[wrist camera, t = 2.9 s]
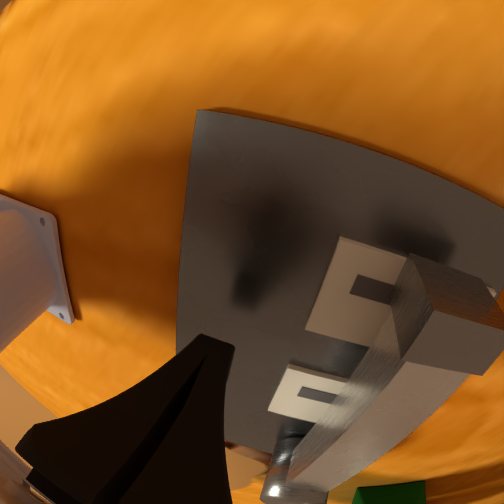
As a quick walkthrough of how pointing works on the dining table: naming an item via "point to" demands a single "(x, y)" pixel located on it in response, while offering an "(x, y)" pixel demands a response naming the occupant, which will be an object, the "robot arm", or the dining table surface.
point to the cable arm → (394, 380)
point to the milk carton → (392, 494)
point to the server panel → (302, 249)
